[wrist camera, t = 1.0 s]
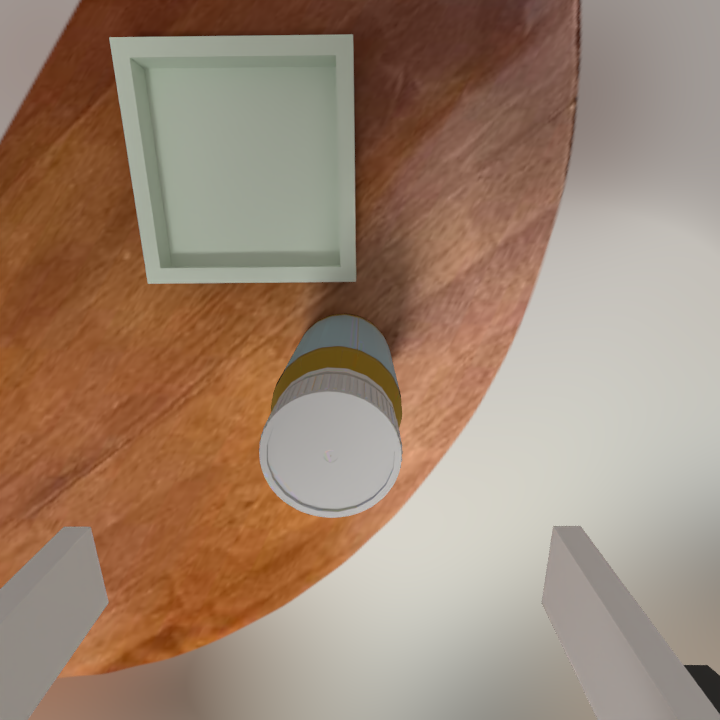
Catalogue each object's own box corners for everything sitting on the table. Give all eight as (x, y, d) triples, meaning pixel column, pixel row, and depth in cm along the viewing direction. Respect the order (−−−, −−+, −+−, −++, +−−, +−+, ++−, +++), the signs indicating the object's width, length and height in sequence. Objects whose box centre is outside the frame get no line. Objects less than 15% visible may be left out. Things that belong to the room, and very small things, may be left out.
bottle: (307, 303, 31) (260, 364, 16) (399, 323, 31) (431, 399, 17) (291, 389, 33) (238, 510, 18) (378, 406, 33) (391, 538, 19)
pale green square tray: (164, 279, 30) (147, 283, 28) (132, 55, 26) (108, 37, 24) (356, 277, 30) (355, 281, 28) (353, 52, 26) (353, 34, 24)
